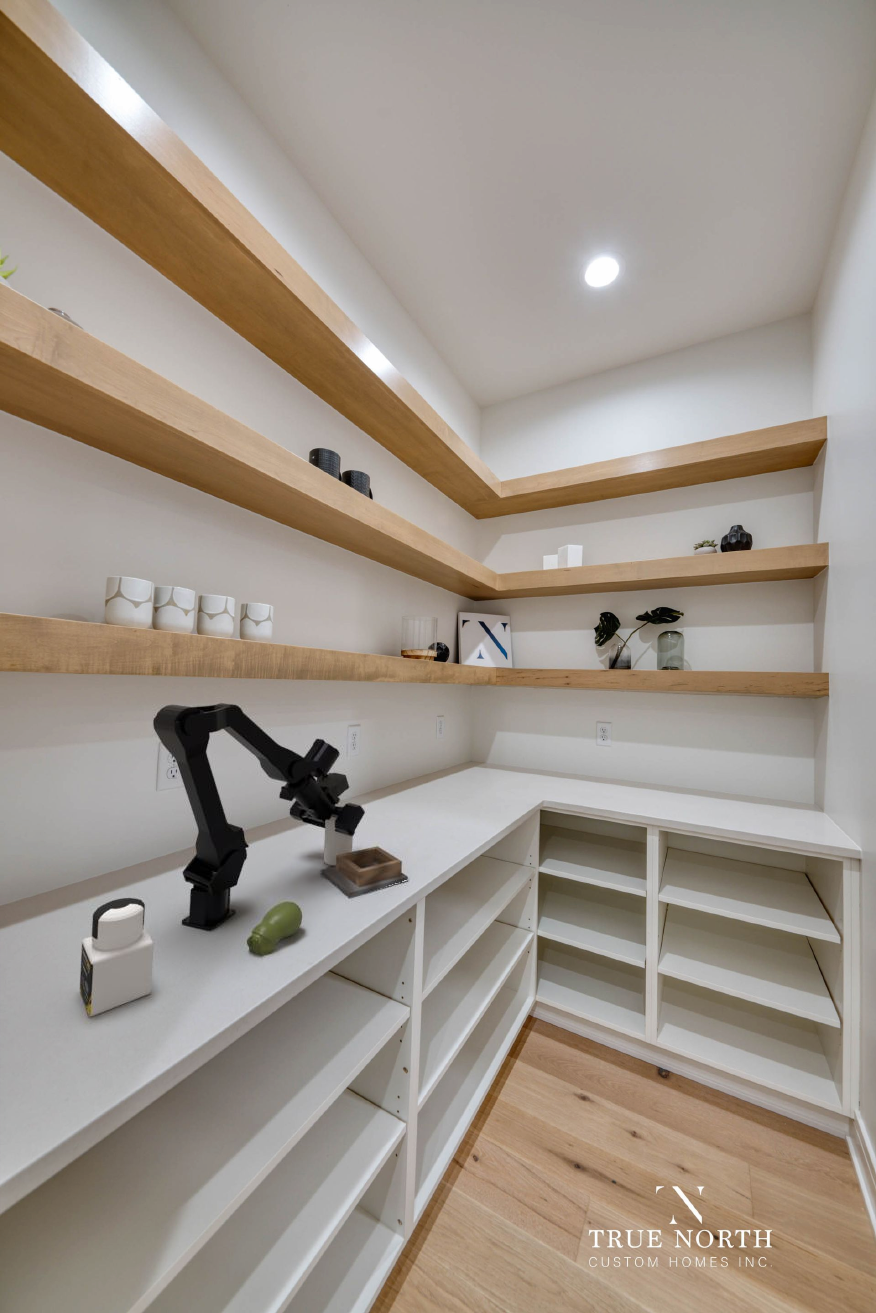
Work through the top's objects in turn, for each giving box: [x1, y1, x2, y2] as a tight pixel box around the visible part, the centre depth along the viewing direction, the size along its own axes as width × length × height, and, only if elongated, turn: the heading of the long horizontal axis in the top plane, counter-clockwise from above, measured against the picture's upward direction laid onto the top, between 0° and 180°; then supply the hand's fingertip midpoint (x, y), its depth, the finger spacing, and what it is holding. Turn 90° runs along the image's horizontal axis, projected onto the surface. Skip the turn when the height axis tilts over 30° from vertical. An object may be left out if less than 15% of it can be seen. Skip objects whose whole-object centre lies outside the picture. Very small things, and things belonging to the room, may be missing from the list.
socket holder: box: [320, 845, 409, 899], centre depth 106 cm, size 14×13×4 cm
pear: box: [246, 900, 303, 956], centre depth 81 cm, size 6×5×10 cm
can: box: [323, 805, 354, 867], centre depth 114 cm, size 6×6×12 cm
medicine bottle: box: [79, 897, 154, 1017], centre depth 67 cm, size 7×7×12 cm
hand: (343, 831), depth 116 cm, fingers closed on can, 6 cm apart
